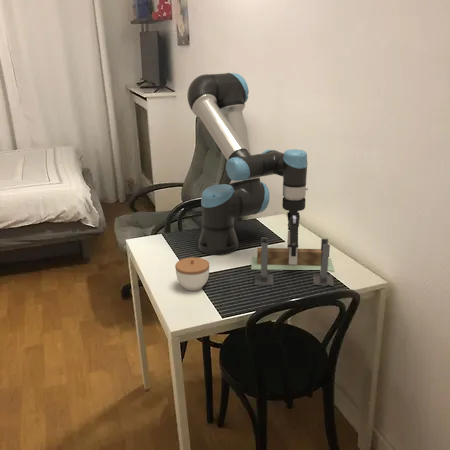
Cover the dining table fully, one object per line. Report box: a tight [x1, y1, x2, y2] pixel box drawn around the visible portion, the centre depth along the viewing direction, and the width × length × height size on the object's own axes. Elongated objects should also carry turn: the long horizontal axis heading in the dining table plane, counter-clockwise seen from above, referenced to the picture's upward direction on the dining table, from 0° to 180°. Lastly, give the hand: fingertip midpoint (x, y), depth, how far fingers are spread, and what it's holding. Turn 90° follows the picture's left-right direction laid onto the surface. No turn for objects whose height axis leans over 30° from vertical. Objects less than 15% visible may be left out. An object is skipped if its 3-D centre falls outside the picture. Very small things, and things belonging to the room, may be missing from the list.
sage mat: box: [250, 256, 335, 272], centre depth 172 cm, size 28×10×1 cm, turn 85°
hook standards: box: [254, 237, 335, 287], centre depth 158 cm, size 25×6×14 cm, turn 85°
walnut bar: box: [256, 247, 321, 266], centre depth 171 cm, size 24×3×5 cm, turn 85°
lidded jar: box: [174, 256, 210, 292], centre depth 156 cm, size 11×11×9 cm
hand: (292, 255), depth 171 cm, fingers open, 13 cm apart
